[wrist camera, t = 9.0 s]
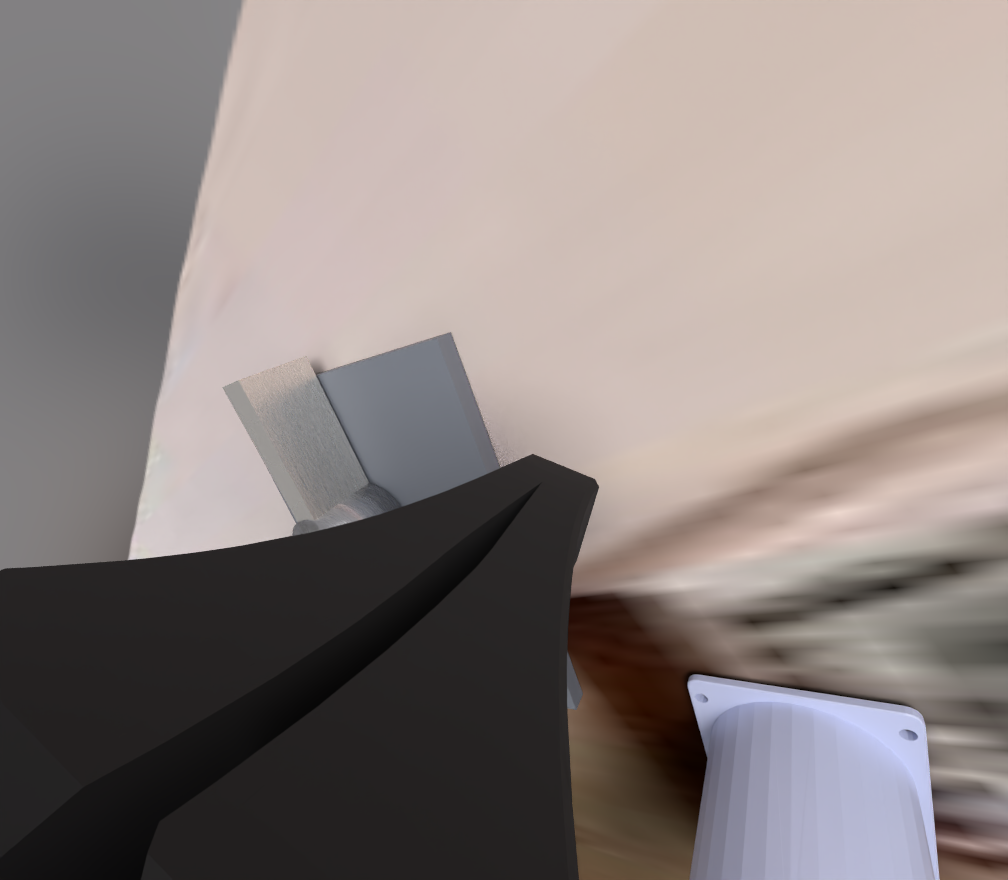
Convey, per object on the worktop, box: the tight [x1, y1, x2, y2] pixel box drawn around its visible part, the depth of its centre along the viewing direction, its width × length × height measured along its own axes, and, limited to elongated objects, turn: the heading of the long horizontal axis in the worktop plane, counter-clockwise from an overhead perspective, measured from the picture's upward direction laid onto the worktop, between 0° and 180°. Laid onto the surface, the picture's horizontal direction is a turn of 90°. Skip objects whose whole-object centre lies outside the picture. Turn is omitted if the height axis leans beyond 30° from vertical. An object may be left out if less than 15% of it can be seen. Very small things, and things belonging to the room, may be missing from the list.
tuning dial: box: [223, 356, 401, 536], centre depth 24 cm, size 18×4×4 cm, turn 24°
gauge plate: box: [267, 332, 583, 710], centre depth 27 cm, size 20×16×1 cm
